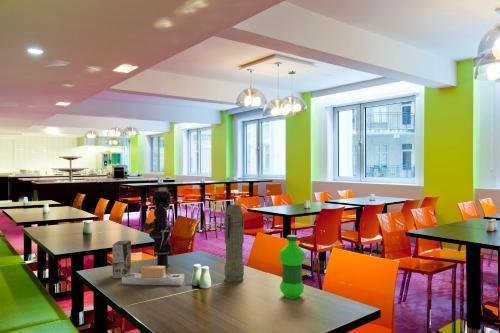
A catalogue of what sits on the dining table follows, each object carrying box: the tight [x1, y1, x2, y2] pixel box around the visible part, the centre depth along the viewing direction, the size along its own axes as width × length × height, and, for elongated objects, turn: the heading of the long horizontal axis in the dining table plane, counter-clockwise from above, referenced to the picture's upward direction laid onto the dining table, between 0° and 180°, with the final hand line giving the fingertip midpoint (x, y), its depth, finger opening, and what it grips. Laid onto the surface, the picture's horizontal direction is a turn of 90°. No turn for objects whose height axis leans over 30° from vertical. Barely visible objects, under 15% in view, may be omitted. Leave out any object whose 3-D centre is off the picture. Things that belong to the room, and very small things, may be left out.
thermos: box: [223, 204, 245, 284], centre depth 185 cm, size 9×12×35 cm
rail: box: [121, 272, 185, 286], centre depth 182 cm, size 7×27×3 cm, turn 86°
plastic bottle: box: [278, 234, 306, 300], centre depth 163 cm, size 10×10×25 cm
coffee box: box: [111, 240, 132, 279], centre depth 192 cm, size 9×6×16 cm
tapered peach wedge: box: [140, 265, 167, 277], centre depth 182 cm, size 10×4×6 cm, turn 86°
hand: (161, 248), depth 194 cm, fingers open, 9 cm apart
